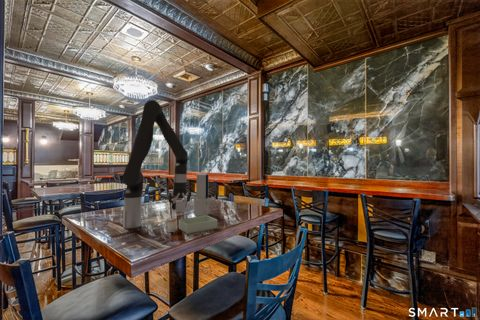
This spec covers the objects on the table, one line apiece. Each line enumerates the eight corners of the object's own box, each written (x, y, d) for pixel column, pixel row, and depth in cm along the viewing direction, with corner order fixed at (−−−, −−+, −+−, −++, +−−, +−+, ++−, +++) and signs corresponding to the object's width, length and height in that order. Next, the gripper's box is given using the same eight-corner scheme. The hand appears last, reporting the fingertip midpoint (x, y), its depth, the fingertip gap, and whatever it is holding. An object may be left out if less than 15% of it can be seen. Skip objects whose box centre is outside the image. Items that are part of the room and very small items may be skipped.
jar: (168, 233, 115) (168, 220, 115) (165, 231, 119) (165, 218, 119) (177, 231, 118) (178, 219, 118) (174, 229, 122) (174, 217, 122)
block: (175, 212, 127) (176, 202, 127) (172, 210, 132) (172, 200, 132) (185, 211, 130) (186, 201, 131) (181, 209, 135) (182, 200, 136)
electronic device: (203, 217, 150) (203, 174, 151) (193, 216, 151) (193, 173, 152) (209, 213, 162) (209, 173, 163) (200, 213, 164) (200, 173, 164)
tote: (187, 234, 113) (187, 224, 113) (178, 228, 124) (178, 219, 124) (217, 228, 124) (217, 219, 124) (207, 223, 134) (207, 215, 134)
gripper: (189, 180, 139) (188, 207, 138) (166, 181, 131) (165, 209, 130) (193, 181, 133) (192, 209, 132) (170, 182, 124) (168, 211, 124)
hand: (179, 209), depth 131 cm, fingers closed on block, 6 cm apart
